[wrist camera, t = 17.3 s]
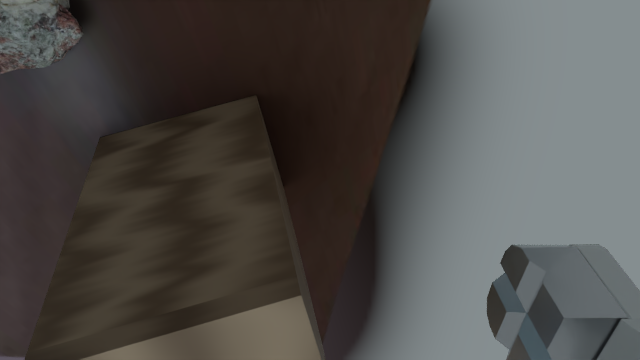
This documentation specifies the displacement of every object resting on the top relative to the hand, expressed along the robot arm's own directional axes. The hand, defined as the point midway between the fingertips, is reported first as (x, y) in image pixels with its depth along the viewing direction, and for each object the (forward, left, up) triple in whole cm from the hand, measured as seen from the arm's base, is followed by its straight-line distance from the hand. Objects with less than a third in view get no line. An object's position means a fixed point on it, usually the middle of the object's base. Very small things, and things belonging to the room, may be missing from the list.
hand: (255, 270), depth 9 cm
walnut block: (-2, -20, -40) cm, 44 cm away
